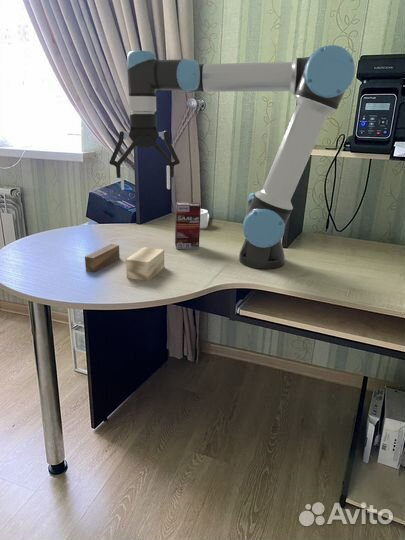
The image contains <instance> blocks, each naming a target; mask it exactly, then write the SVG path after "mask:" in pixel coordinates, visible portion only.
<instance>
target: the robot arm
mask: <svg viewBox="0 0 405 540" xmlns="http://www.w3.org/2000/svg"><path fill="white" fill-rule="evenodd" d="M126 62H127V63H126V65H127V68H126V72H127V85H128V107H129V109H128V111H129V112H131V113H130V114H129V126H130V127H129V131H123V130H120V131H119V132H118V134H119V135H118V140H117V143H116V146H115V148H114V150H113V153H112V155H111V156H110V160H109V165H111V166H114V167H115V169H116V170H115V171H116V174H115V175H116V178H117V179H120V187H121V188H120V189H121V191H124V190H125V180H124V179H125V178H124V177H125V176H124V166H123V165H122V164H123V162H124V161H125V160H126V159H127V157H129V155H130V154H131V153H132V151H133V150H134V149H135V147H136V148H149V149H150V148H152V147H153V148H154V150H156V152H158V154H159V155H160V156H161V157H162V158H163V159H164V160H165V162H166V163H167V164H168V165H166V189H167V190H171V178H174V176H175V175H174V173H175V171H174V167H175V166H177V165H179V164H180V160H179V157H178V155H177V153H176V151H175V149H174V148H173V146H172V144H171V141H170V139H169V138H170V137H169V132H168V131H167V130H164V131H158V126H157V125H158V120H157V118H158V116H157V115H156V112H157V91H177V92H178V91H179V92H183V93H188V94H190V93H203V92H205V93H209V92H210V93H211V92H217V93H218V92H221V93H222V92H230V93H231V92H289V93H290V94H292V95H293V96H294V99H295V102H296V106H295V107H294V111H293V114H292V116H291V118H290V120H289V123H288V125H287V128H286V130H285V133H284V135H283V137H282V140H281V143H280V144H279V148H278V150H277V152H276V155H275V157H274V160H273V163H272V165H271V168H270V170H269V172H268V175H267V177H266V179H265V182H264V184H263V186H262V189H260V190H258V191H256V192H251V193H249V195H248V199H247V211H246V213H245V217H244V219H243V222H242V231H243V235H244V237H245V239H244V241H243V243H242V247H241V249H240V252H239V255H238V261H239V262H240V263H241V264H242V265H244V266H246V267H251V268H253V267H254V268H255V269H260V268H262V269H263V270H269V269H268V268H272V269H277V267H278V268H280V266H281V267H282V266H284V264H285V258H286V256H285V253H284V248H283V243H282V238H283V236H284V235H285V230H286V225H287V223H288V220H289V218H290V216H291V213H292V211H293V209H294V206H293V204H292V202H291V201H292V198H293V196H294V193H295V191H296V189H297V187H298V184H299V181H300V179H301V177H302V175H303V173H304V170H305V168H306V166H307V163H308V161H309V160H310V156H311V154H312V153H313V150H314V148H315V146H316V143H317V141H318V140H319V136H320V134H321V131H323V127H324V125H325V123H326V120H327V118H328V116H329V115H331V114H334V113H336V112H337V110H338V108H339V106H340V104H341V101H342V99H343V97H344V95H345V92H346V91H347V90H348V89H349V87H350V86H351V85H352V82H353V80H354V78H355V71H356V65H355V62H354V58H353V56H352V54H351V53H350V51H348V50H347V49H346V48H344V47H342V46H340V45H335V44H331V45H324V46H321V47H320V48H318V49H317V50H314V52H313V53H311V55H310V56H306V57H295V58H294V59H293V60H292V61H283V62H282V61H278V62H277V61H276V62H275V61H274V62H243V63H242V62H238V63H237V62H236V63H235V62H233V63H199V62H198V61H197V60H196V59H187V58H182V59H157V58H156V53H155V52H153V51H150V50H131V51H129V52H128V54H127V61H126ZM127 137H129V139H130V140H131V141H132V142H131V143H130V144H129V146H128V147H127V149H125V151H124V152H123V153H122V155H121V156H120V157H119V159H118V160H117V161H116V159H117V156H118V154H119V152H120V149H121V147H122V145H123V142H124V140H126V139H127ZM159 137H160V138H161V139H162V140H163V141H164V143H165V145H166V147H167V149H168V151H169V152H170V154H171V157H172V158H173V160H172V159H170V157H169V156H168V155H167V154H166V153H165V151H164V150H163V149H162V148H161V147H160V146H159V144H158V143H157V142H156V141H157V140H158V138H159Z"/></svg>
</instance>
